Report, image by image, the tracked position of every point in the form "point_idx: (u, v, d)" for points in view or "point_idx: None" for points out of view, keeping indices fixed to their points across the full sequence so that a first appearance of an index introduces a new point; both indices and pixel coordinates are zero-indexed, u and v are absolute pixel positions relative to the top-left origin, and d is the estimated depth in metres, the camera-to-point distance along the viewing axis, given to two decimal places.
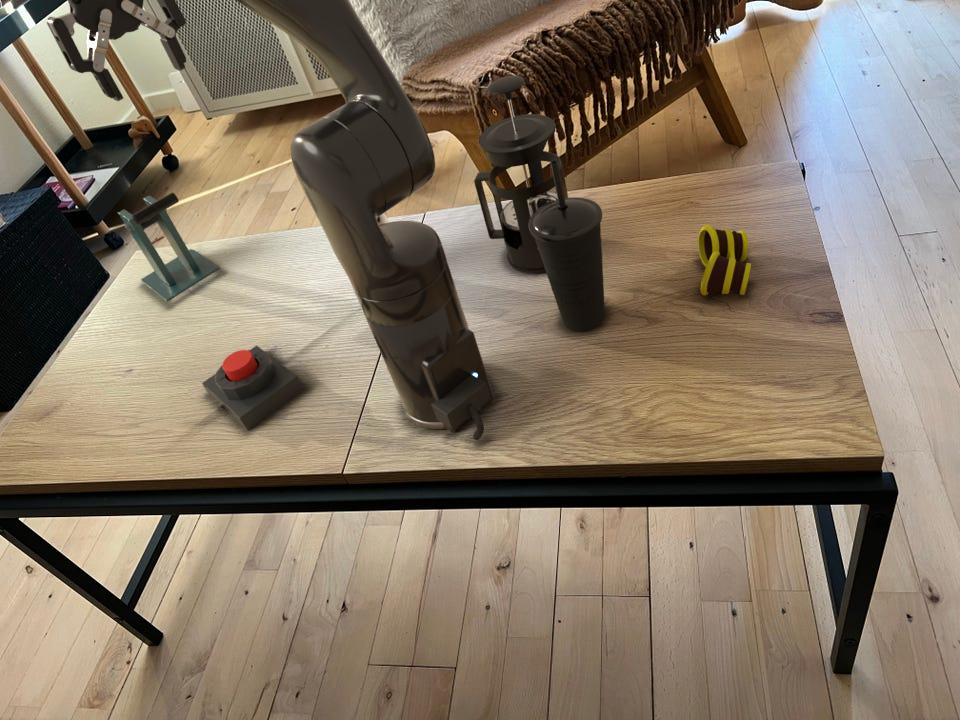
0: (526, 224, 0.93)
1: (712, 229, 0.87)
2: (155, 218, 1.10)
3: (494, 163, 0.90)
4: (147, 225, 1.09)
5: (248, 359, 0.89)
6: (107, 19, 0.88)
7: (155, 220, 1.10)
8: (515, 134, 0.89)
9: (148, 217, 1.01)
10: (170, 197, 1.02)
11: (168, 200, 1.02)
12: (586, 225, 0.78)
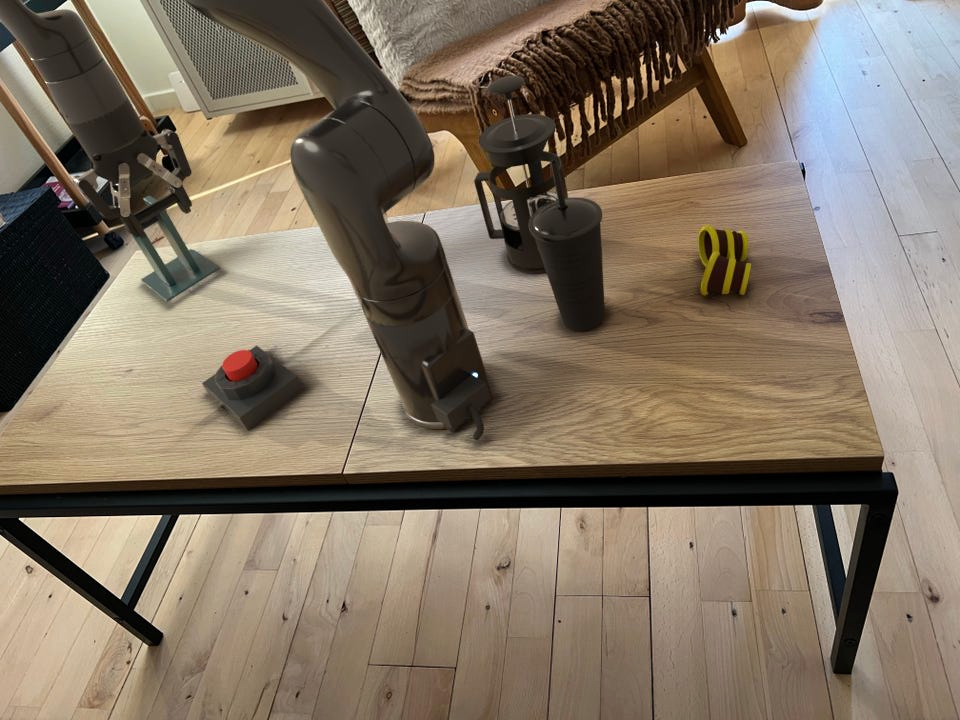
0: (526, 224, 0.93)
1: (712, 229, 0.87)
2: (155, 218, 1.10)
3: (494, 163, 0.90)
4: (147, 225, 1.09)
5: (248, 359, 0.89)
6: (124, 172, 0.96)
7: (155, 220, 1.10)
8: (515, 134, 0.89)
9: (148, 217, 1.01)
10: (170, 197, 1.02)
11: (168, 200, 1.02)
12: (586, 225, 0.78)
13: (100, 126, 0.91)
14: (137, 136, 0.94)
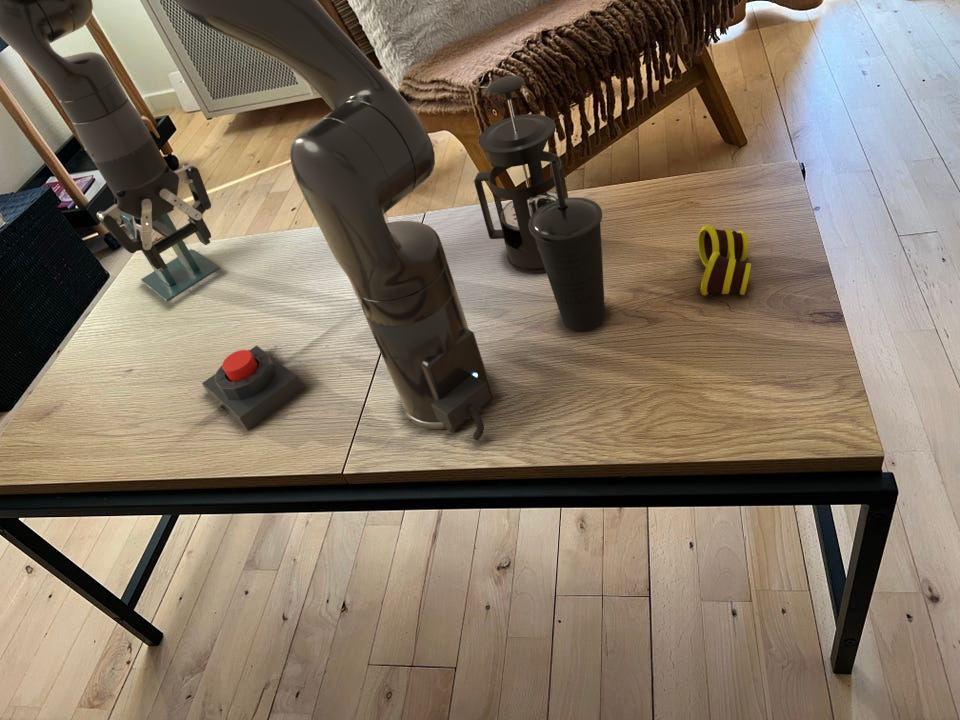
0: (526, 224, 0.93)
1: (712, 229, 0.87)
2: None
3: (494, 163, 0.90)
4: None
5: (248, 359, 0.89)
6: (147, 207, 0.98)
7: None
8: (515, 134, 0.89)
9: None
10: (190, 229, 1.05)
11: (188, 232, 1.04)
12: (586, 225, 0.78)
13: (125, 164, 0.93)
14: (160, 173, 0.97)
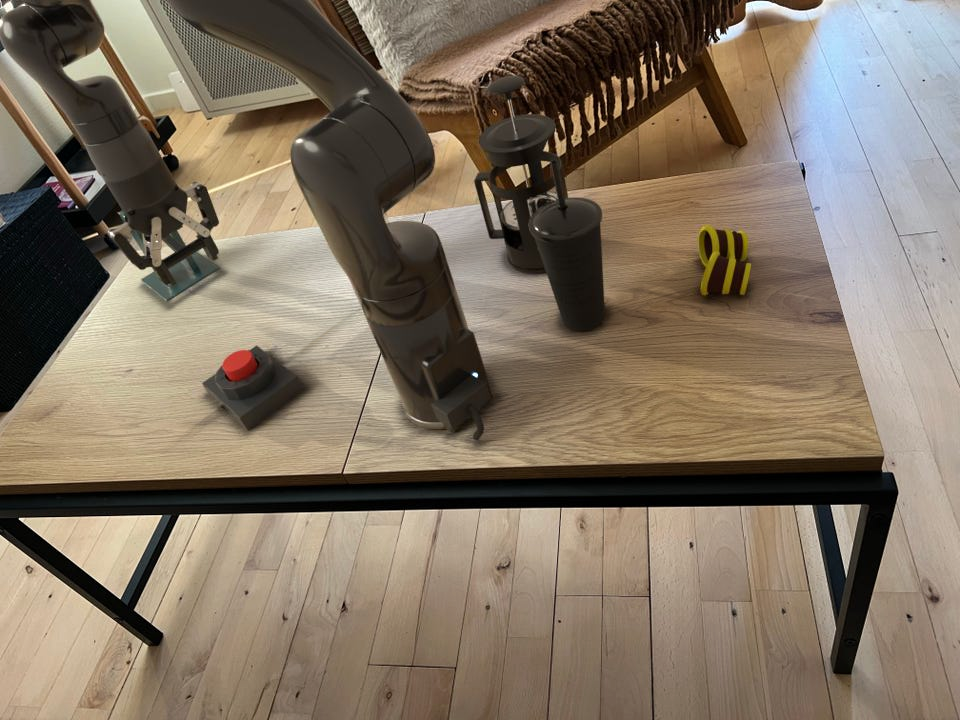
0: (526, 224, 0.93)
1: (712, 229, 0.87)
2: None
3: (494, 163, 0.90)
4: None
5: (248, 359, 0.89)
6: (157, 225, 1.01)
7: None
8: (515, 134, 0.89)
9: None
10: (199, 246, 1.07)
11: (197, 249, 1.07)
12: (586, 225, 0.78)
13: (135, 184, 0.95)
14: (169, 192, 0.99)
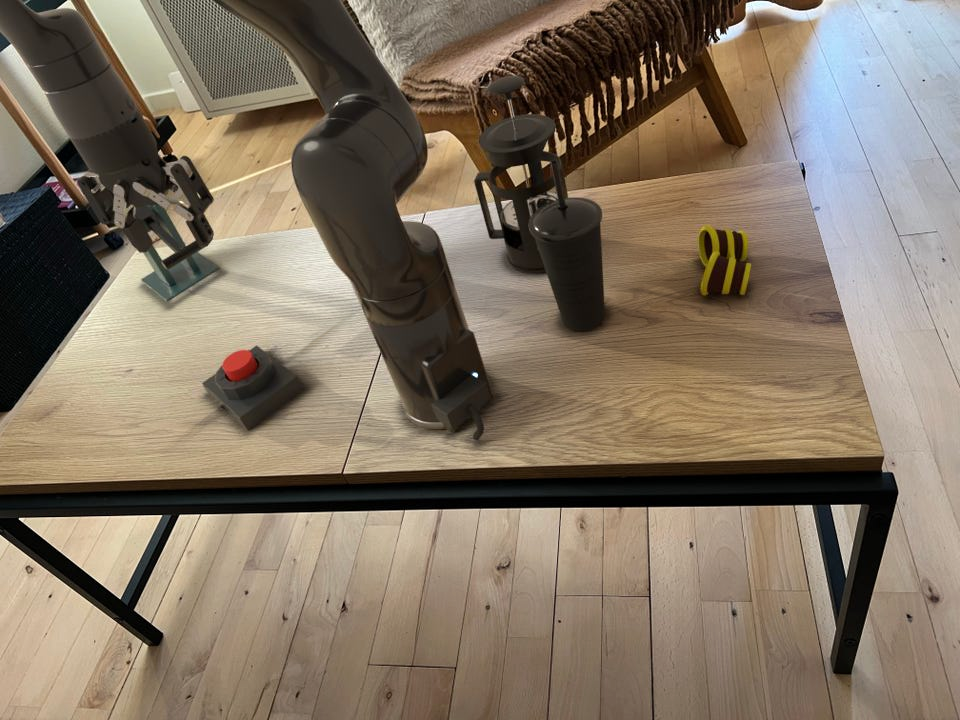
0: (526, 224, 0.93)
1: (712, 229, 0.87)
2: (157, 223, 1.11)
3: (494, 163, 0.90)
4: (149, 230, 1.11)
5: (248, 359, 0.89)
6: (120, 193, 0.85)
7: None
8: (515, 134, 0.89)
9: (176, 264, 1.06)
10: (199, 246, 1.07)
11: (197, 249, 1.07)
12: (586, 225, 0.78)
13: (79, 147, 0.80)
14: (120, 168, 0.81)
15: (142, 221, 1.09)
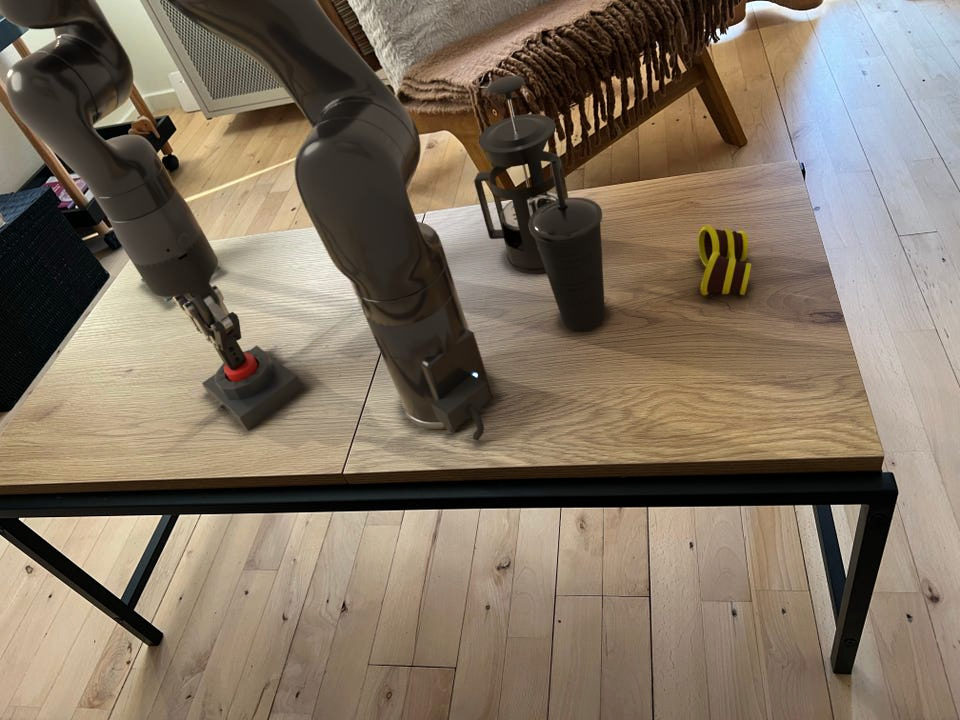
0: (526, 224, 0.93)
1: (712, 229, 0.87)
2: None
3: (494, 163, 0.90)
4: None
5: (250, 362, 0.90)
6: (178, 304, 0.84)
7: None
8: (515, 134, 0.89)
9: None
10: None
11: None
12: (586, 225, 0.78)
13: None
14: (163, 296, 0.79)
15: None
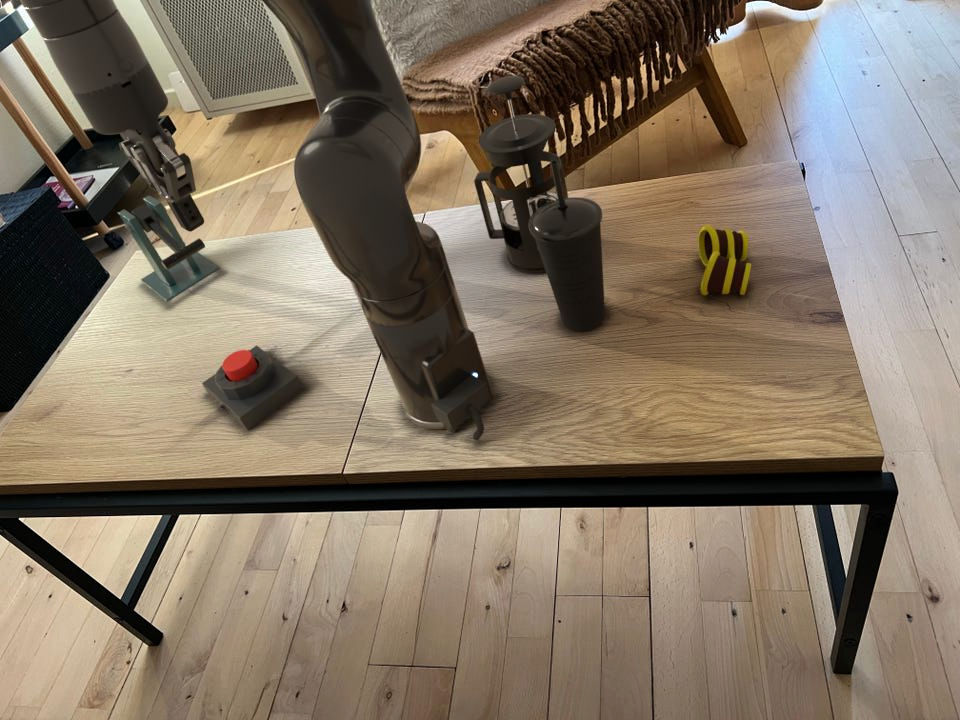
0: (526, 224, 0.93)
1: (712, 229, 0.87)
2: (157, 223, 1.11)
3: (494, 163, 0.90)
4: (149, 230, 1.11)
5: (248, 359, 0.89)
6: (126, 152, 0.78)
7: None
8: (515, 134, 0.89)
9: (176, 264, 1.06)
10: (199, 246, 1.07)
11: (197, 249, 1.07)
12: (586, 225, 0.78)
13: None
14: (107, 132, 0.73)
15: (142, 221, 1.09)
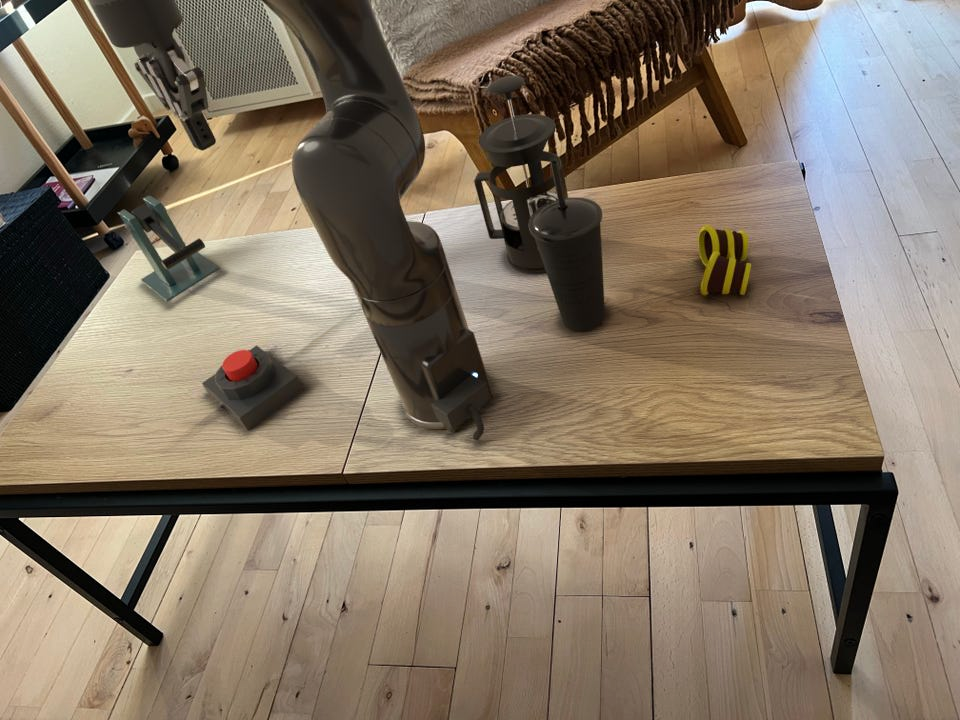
0: (526, 224, 0.93)
1: (712, 229, 0.87)
2: (157, 223, 1.11)
3: (494, 163, 0.90)
4: (149, 230, 1.11)
5: (248, 359, 0.89)
6: (142, 69, 0.81)
7: None
8: (515, 134, 0.89)
9: (176, 264, 1.06)
10: (199, 246, 1.07)
11: (197, 249, 1.07)
12: (586, 225, 0.78)
13: None
14: (124, 44, 0.76)
15: (142, 221, 1.09)
